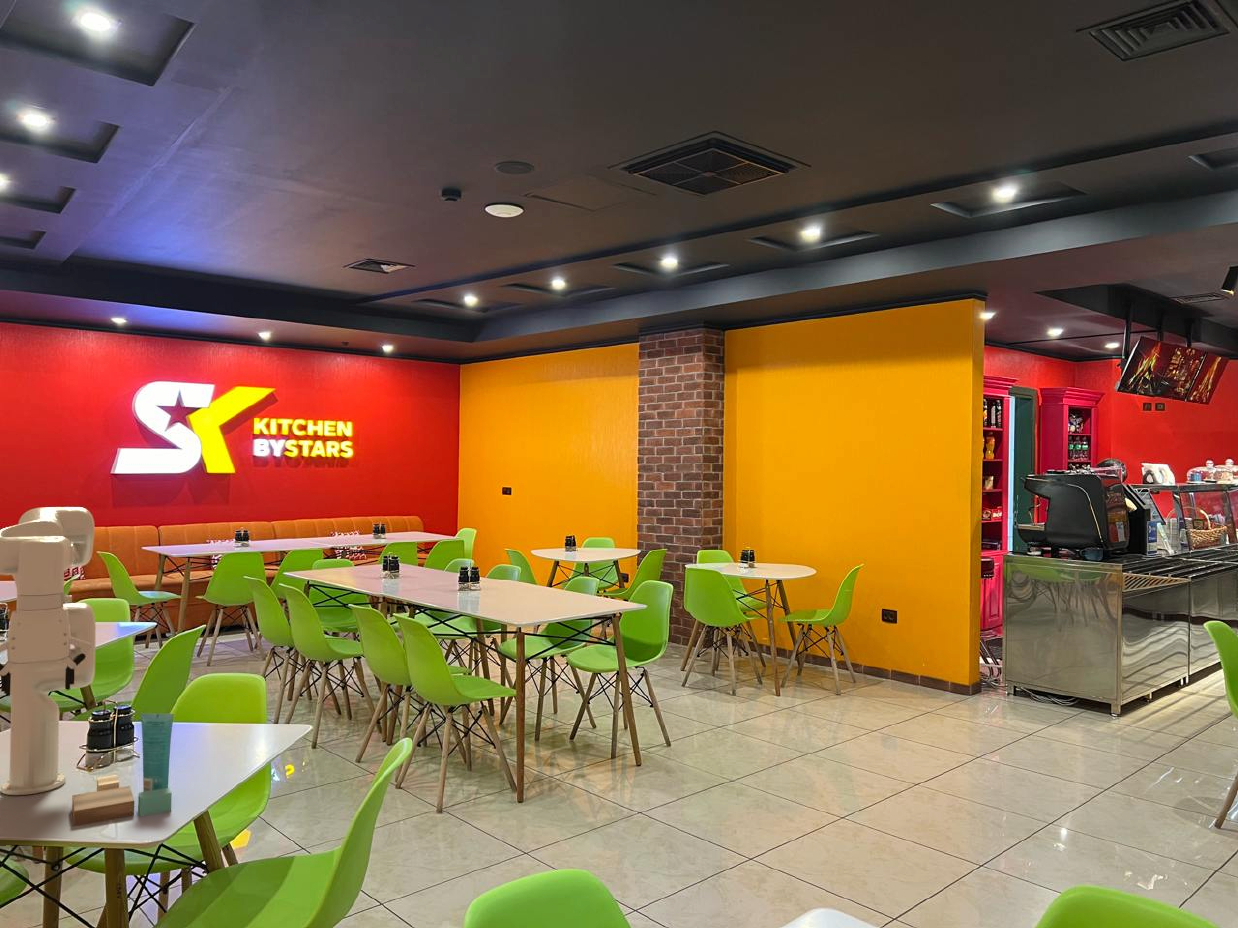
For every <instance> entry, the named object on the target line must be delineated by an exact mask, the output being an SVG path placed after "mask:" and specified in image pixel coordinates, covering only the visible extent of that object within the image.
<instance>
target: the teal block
mask: <svg viewBox="0 0 1238 928" xmlns="http://www.w3.org/2000/svg"><path fill="white" fill-rule="evenodd" d="M137 801H138V803H137V809H138V814H139V817H143V816H149V815H154V814H155V815H156V814H160V813H165V812H170V811H172V791H171V788H170V787H168V788H163V789H157V790H151V791H145V792H143V791H140V792H138V798H137Z"/></svg>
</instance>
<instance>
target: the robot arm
mask: <svg viewBox="0 0 1238 928" xmlns="http://www.w3.org/2000/svg"><path fill="white" fill-rule="evenodd" d="M95 531H96V527H95V520H94V517H93V514H92V513H91V512H90V511H89V510H88V509H87V508H84V507H80V506H63V507H62V506H55V507H54V506H52V507H51V506H50V507H48V506H47V507H46V506H45V507H36V508H32V509H30V510H27V511H26V512H24V513H23V514H22V515H21V517H20V518H19V520H18V524H15V525H11V526H8V527H5V528H2V529H0V576H12V578H13V580H14V584H15V587H16V610H12V612H11V615H10V620H9V625H8V634H7V641H4V642H3V643H1V644H0V653H3V652H5V651H6V655H7V656H6V657H7V661H6V662H5V663H4V664H2V663H1V662H0V676H1V683H0V684H1V685H0V687H1V688H0V689H1V690H0V692H2V693H3V692H5V697H9V698H10V735H9V736H10V743H9V744H10V745H9V779H8V781H5V782H4V783H3V784H2V785H1V786H0V792H1V793H2V794H4V795H9V796H25V795H34V794H40V793H44V792H48V791H52V790H54V789H56V788H57V789H58V788H59V787H61V786H63V785H64V784H65V783H66V775H64V774H62V773H59V749H60V748H59V745H60V741H59V740H60V739H59V737H60V708H59V705H58V704H57V702H56V701H55V700H54V699H53V698H52V697H51V696H50V695H48V694H47V693H49V692H54V691H62V690H67V691H70V690H71V689H80V688H81V689H82V688H85V687H87V686H90V685H91V684H92V682H93V681H94V679H95V674H96V615H95V612H94V609H93V608H92V606H91V605H90V604H88V603H85V602H73V595H68V594H65V593H64V589H65V588H64V587H65V571H67V570H68V569H69V568H77V567H83V566H85V565H88V564H89V563H90V561H91V559H92V556H93V551H94V542H95V541H94V540H95V533H96V532H95ZM71 645H72V646H74V648H71Z"/></svg>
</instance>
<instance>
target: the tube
mask: <svg viewBox="0 0 1238 928" xmlns="http://www.w3.org/2000/svg"><path fill="white" fill-rule="evenodd" d="M174 715H175V713H145V712H144V713H143V712H142V713H140V720H141V721H140V722H141V734H142V735H141V737H142V739H141V740H142V743H141V744H142V773H143V774H142V777H143V778H142V784H143V788H142V789H143V791H142V792H145V791H151V790H157V789H163V788H169V777H170V776H169V775H170V759H171V758H170V755H171V743H172V741H171V740H172V733H173V732H172V731H173V722H174Z"/></svg>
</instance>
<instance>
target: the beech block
mask: <svg viewBox="0 0 1238 928" xmlns="http://www.w3.org/2000/svg"><path fill="white" fill-rule="evenodd" d="M114 788H120V780H119V777H118V775H117V774H113V775H106V776H100V777H97V778H96V791H102V790H108V789H114Z"/></svg>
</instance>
